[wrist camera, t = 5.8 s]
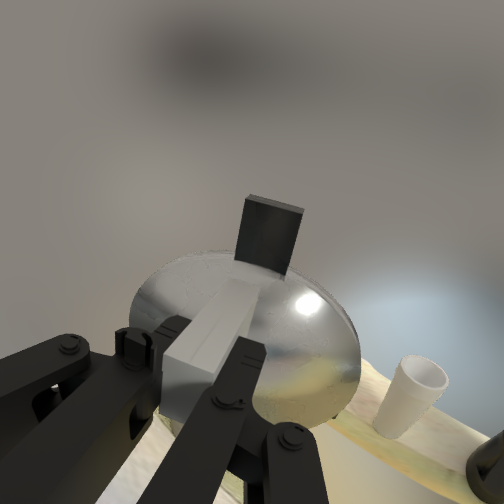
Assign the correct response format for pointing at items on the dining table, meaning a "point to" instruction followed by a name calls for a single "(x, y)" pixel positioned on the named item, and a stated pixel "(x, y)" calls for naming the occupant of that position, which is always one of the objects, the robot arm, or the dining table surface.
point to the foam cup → (409, 395)
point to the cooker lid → (268, 315)
